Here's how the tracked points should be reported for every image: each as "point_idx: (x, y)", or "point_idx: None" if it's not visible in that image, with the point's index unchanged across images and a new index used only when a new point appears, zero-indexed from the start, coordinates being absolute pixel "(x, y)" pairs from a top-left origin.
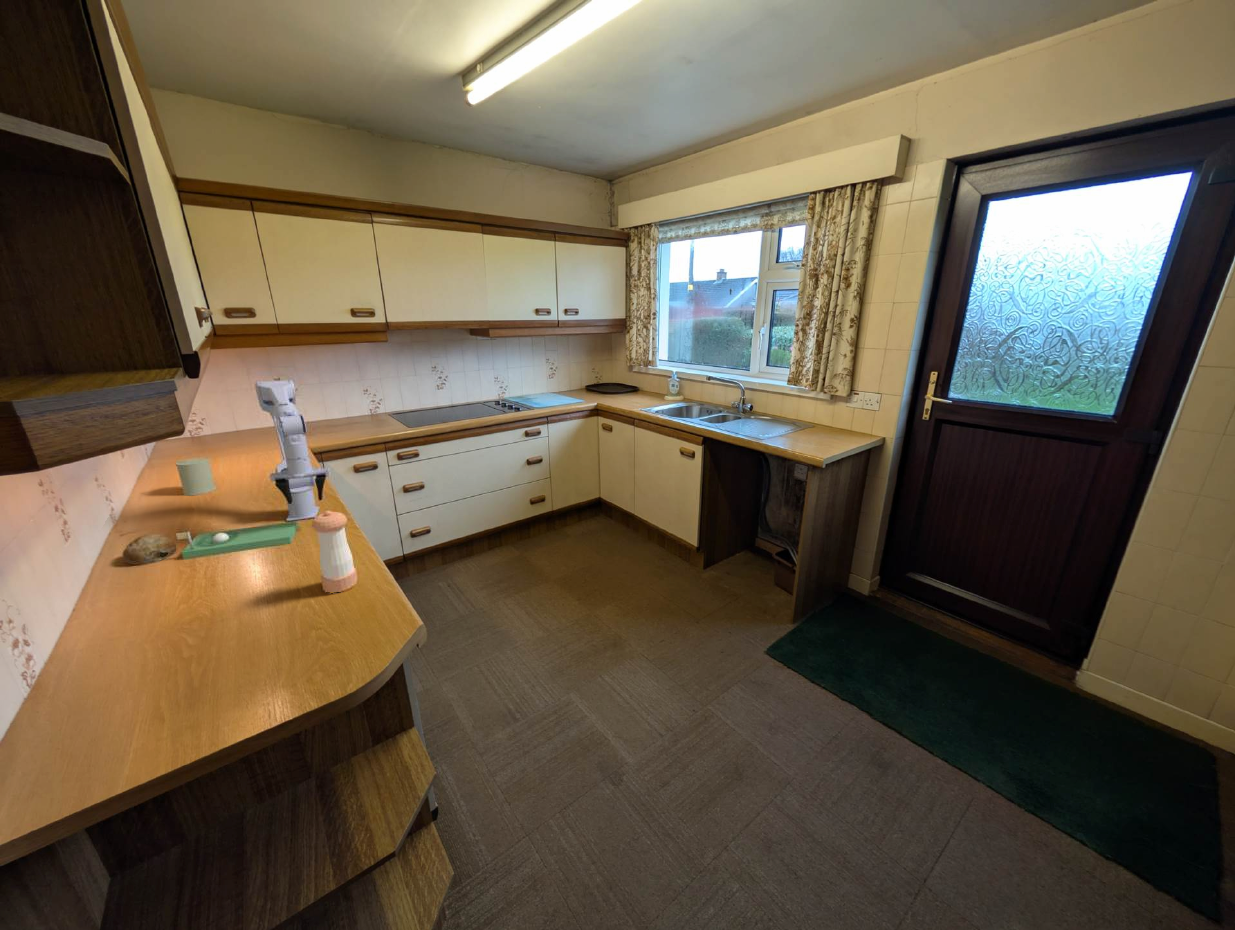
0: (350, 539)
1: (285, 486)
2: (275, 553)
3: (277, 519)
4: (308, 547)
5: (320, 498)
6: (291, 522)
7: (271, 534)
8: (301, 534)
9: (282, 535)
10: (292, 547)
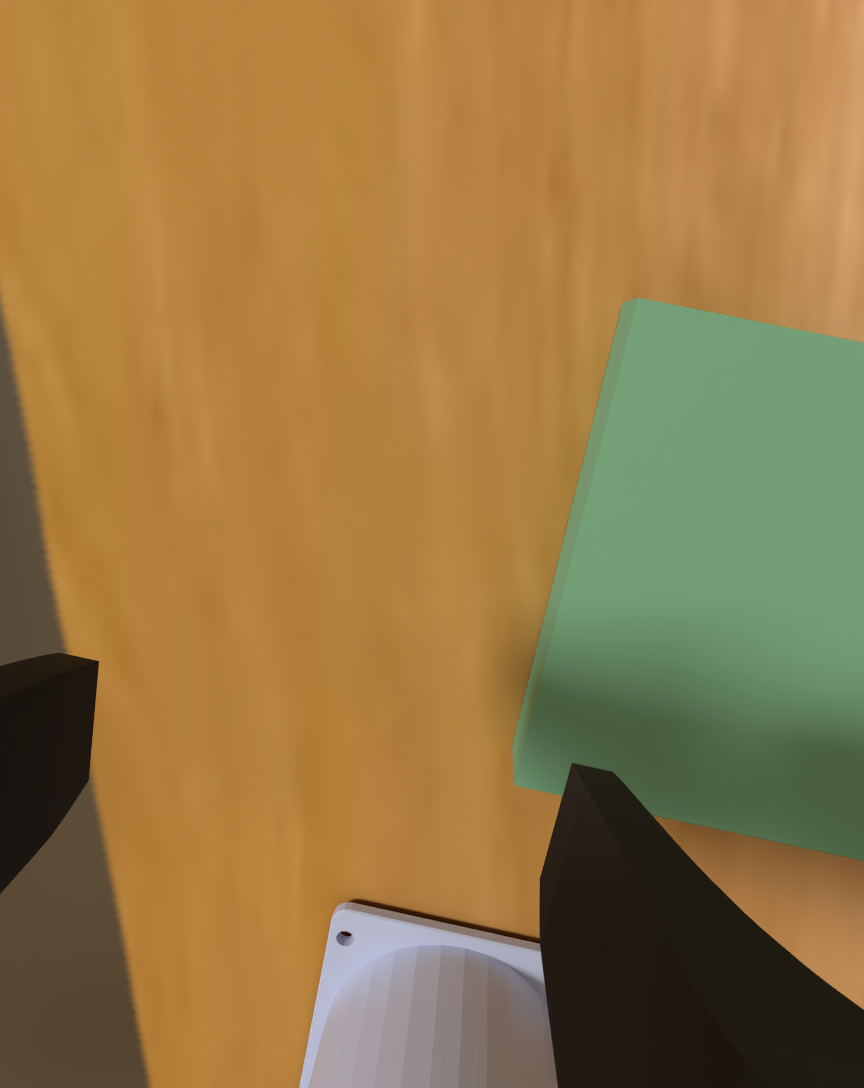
0: (14, 7)
1: (749, 1059)
2: (807, 69)
3: None
4: (461, 36)
5: (43, 659)
6: None
7: (811, 517)
8: (498, 516)
9: (705, 405)
10: (620, 155)
